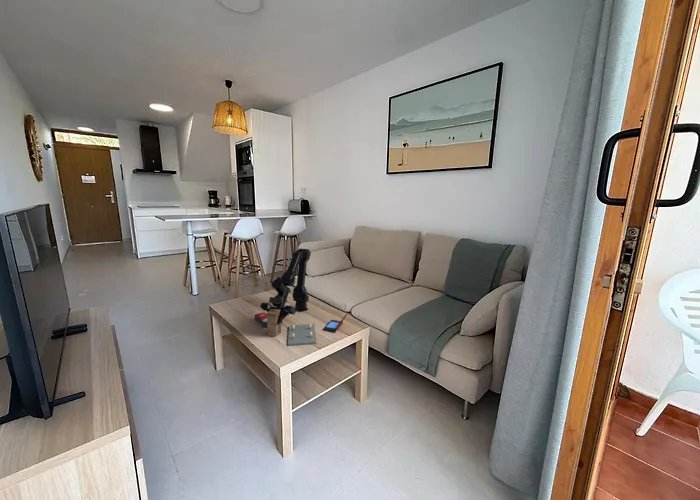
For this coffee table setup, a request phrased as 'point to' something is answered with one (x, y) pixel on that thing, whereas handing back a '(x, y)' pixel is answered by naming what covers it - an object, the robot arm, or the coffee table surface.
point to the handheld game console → (333, 325)
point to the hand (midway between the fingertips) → (272, 323)
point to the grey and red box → (262, 319)
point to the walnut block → (273, 322)
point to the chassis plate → (301, 335)
